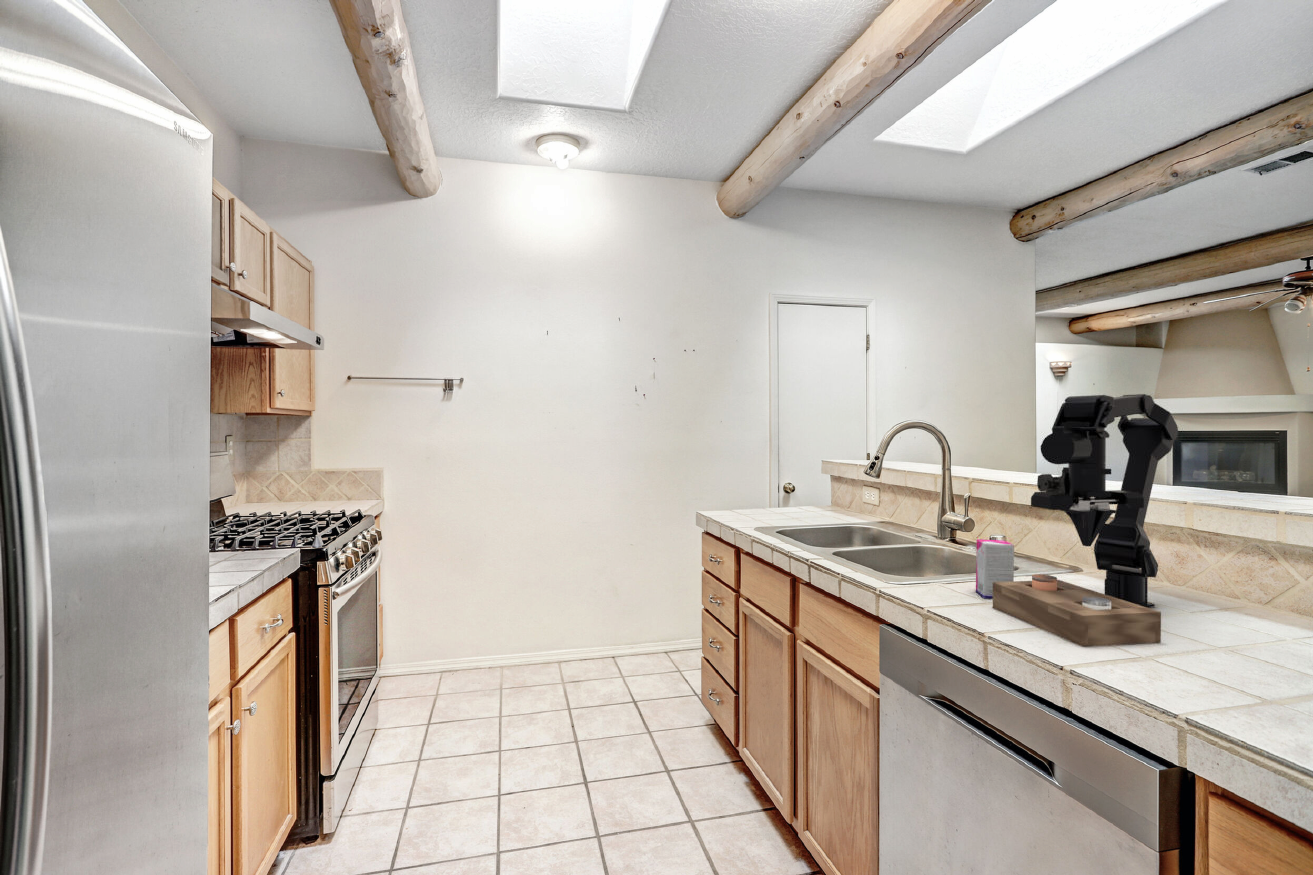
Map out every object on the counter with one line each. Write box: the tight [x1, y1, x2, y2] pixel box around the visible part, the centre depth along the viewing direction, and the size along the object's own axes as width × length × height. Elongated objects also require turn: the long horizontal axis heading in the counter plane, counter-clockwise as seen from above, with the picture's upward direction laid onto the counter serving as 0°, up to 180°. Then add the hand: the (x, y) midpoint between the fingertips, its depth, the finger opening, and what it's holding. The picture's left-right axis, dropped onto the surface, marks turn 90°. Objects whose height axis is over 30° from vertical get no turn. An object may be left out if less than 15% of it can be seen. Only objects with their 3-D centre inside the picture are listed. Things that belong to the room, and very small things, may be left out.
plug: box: [1082, 596, 1111, 610], centre depth 105 cm, size 4×4×6 cm
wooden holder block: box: [992, 579, 1162, 648], centre depth 111 cm, size 14×22×5 cm, turn 7°
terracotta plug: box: [1031, 573, 1058, 591], centre depth 117 cm, size 4×4×6 cm
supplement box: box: [975, 538, 1015, 600], centre depth 130 cm, size 6×6×12 cm
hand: (1086, 545), depth 115 cm, fingers closed
